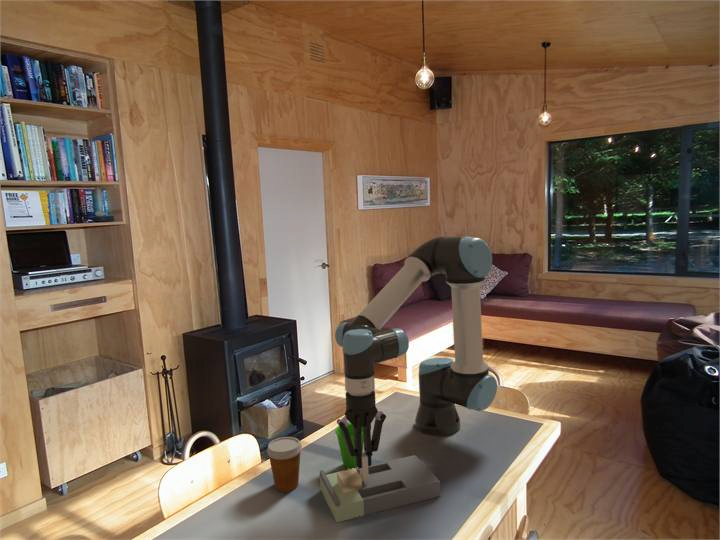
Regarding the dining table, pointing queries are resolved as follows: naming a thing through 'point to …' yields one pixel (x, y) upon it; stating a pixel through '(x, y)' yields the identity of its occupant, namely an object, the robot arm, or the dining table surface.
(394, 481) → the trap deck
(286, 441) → the disposable coffee cup
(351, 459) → the cup
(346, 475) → the block
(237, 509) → the dining table surface
